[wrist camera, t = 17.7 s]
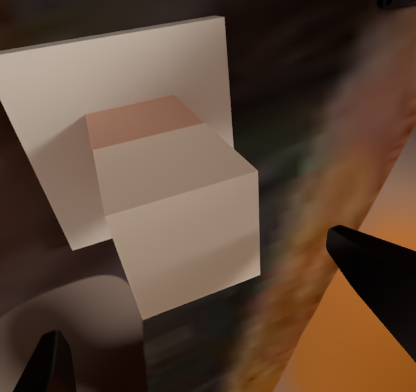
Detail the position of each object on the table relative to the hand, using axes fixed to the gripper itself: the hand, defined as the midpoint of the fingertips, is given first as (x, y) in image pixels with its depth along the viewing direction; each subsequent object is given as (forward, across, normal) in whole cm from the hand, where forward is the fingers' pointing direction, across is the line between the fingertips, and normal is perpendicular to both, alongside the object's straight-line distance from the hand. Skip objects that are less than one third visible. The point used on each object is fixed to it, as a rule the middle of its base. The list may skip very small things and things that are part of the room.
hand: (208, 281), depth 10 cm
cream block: (+6, 0, 0) cm, 7 cm away
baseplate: (+13, 0, 0) cm, 13 cm away
